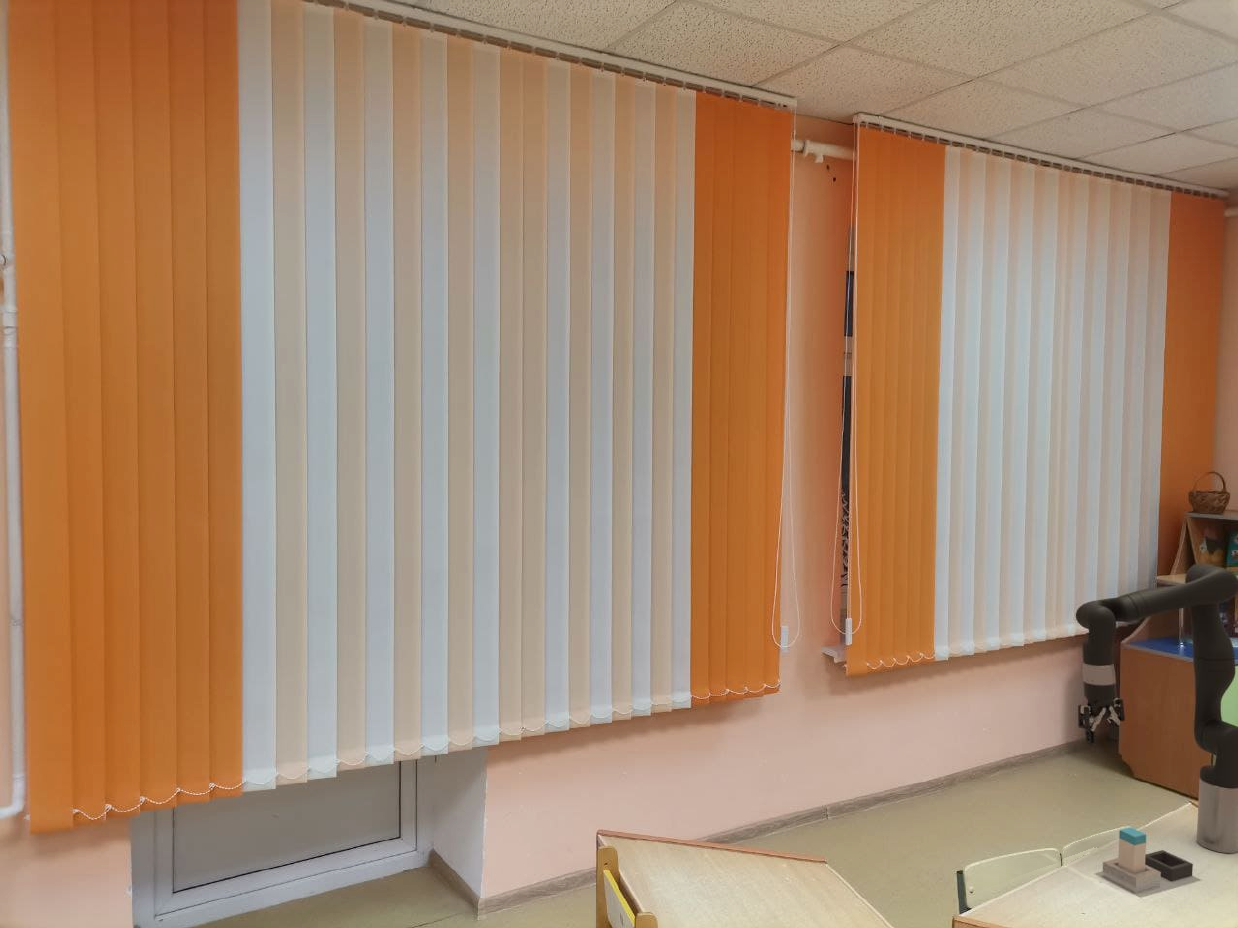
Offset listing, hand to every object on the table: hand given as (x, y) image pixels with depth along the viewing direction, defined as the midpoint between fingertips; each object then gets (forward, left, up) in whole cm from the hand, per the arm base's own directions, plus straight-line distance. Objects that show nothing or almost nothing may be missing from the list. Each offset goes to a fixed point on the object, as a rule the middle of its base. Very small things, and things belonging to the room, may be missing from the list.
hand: (1102, 741), depth 233 cm
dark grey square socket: (-1, +18, -28) cm, 33 cm away
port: (+12, +18, -28) cm, 35 cm away
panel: (+6, +18, -28) cm, 33 cm away
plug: (+12, +18, -27) cm, 34 cm away
